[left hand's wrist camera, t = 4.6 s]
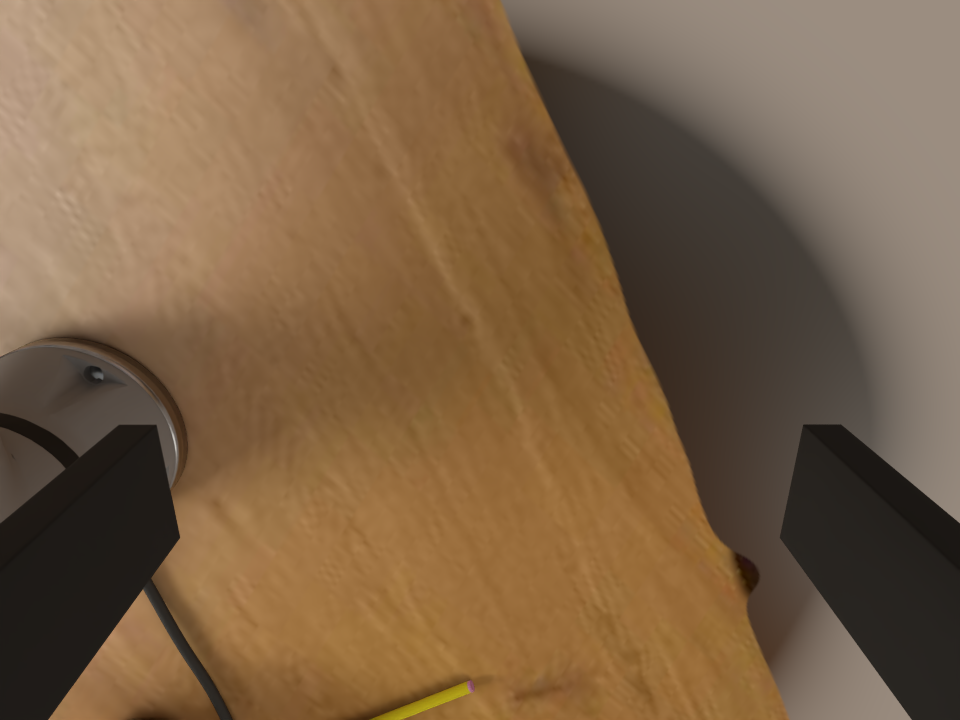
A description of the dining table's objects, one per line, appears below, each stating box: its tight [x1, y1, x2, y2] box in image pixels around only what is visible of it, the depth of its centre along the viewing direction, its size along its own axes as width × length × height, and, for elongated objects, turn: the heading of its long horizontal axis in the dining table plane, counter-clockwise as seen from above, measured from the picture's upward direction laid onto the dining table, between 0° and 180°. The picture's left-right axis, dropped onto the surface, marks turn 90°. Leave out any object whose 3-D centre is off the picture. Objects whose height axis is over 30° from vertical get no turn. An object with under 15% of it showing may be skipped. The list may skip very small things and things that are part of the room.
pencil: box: [370, 680, 474, 720], centre depth 57 cm, size 16×1×1 cm, turn 118°
